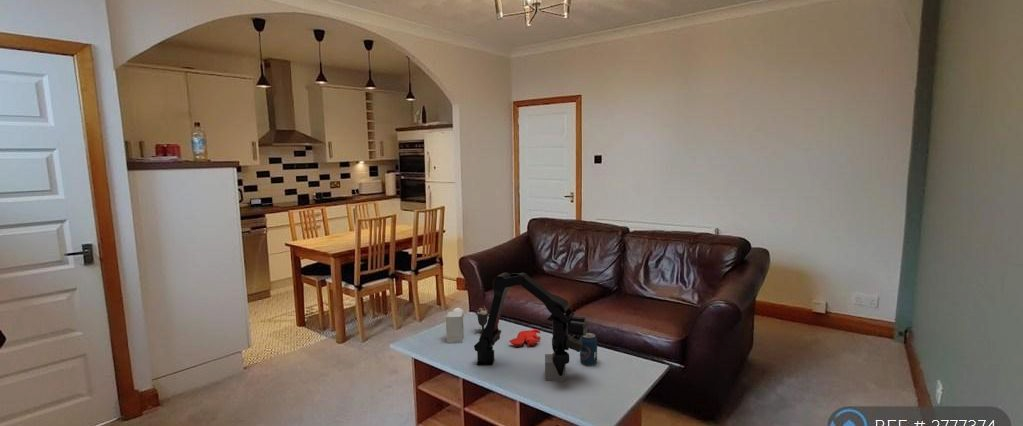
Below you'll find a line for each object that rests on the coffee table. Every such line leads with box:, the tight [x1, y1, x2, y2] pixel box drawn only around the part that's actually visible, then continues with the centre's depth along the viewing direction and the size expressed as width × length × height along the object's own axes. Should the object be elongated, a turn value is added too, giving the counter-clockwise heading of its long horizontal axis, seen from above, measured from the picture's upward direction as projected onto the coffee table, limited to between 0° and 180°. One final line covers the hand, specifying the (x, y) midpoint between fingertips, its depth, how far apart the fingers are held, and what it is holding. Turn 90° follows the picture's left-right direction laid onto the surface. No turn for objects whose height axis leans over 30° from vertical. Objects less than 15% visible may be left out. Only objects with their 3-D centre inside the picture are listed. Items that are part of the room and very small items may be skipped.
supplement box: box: [445, 311, 465, 344], centre depth 226 cm, size 7×7×13 cm
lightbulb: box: [451, 307, 465, 318], centre depth 239 cm, size 6×6×11 cm
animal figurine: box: [508, 328, 541, 348], centre depth 220 cm, size 12×15×5 cm
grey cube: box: [544, 353, 566, 382], centre depth 188 cm, size 8×8×7 cm
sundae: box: [475, 304, 490, 335], centre depth 233 cm, size 7×7×15 cm
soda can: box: [579, 331, 598, 367], centre depth 199 cm, size 7×7×12 cm
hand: (560, 370), depth 188 cm, fingers open, 9 cm apart
